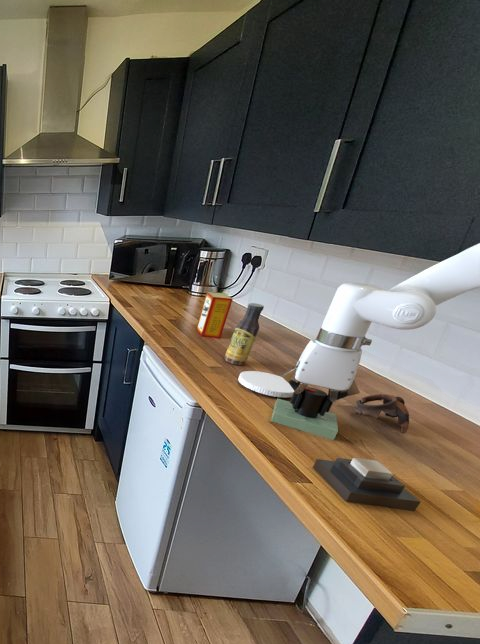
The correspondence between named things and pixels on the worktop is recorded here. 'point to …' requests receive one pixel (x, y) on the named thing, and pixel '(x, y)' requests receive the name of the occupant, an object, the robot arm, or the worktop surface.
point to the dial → (311, 402)
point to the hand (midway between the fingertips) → (307, 409)
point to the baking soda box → (214, 314)
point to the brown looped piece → (385, 408)
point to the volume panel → (305, 420)
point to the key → (371, 469)
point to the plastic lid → (266, 383)
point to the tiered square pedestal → (364, 486)
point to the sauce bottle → (244, 336)
